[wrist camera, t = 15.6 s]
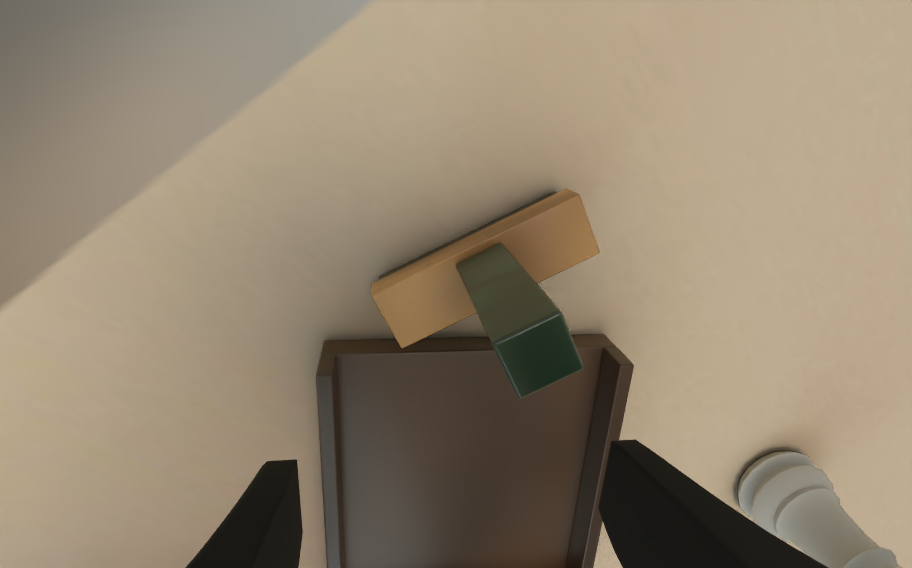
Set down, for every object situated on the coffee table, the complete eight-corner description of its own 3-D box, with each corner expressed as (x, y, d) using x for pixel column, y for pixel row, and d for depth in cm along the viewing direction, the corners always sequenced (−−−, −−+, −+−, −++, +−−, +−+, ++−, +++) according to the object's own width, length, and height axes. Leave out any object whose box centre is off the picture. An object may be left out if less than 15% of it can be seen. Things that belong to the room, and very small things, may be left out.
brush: (399, 323, 20) (412, 463, 12) (371, 274, 19) (365, 392, 11) (577, 237, 20) (703, 324, 12) (557, 183, 19) (680, 240, 11)
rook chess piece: (817, 484, 27) (984, 631, 19) (745, 524, 27) (883, 684, 20) (797, 431, 25) (971, 569, 18) (721, 475, 25) (861, 628, 18)
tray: (336, 590, 24) (331, 646, 22) (323, 340, 19) (315, 375, 17) (564, 567, 26) (583, 616, 24) (604, 333, 21) (634, 364, 19)
